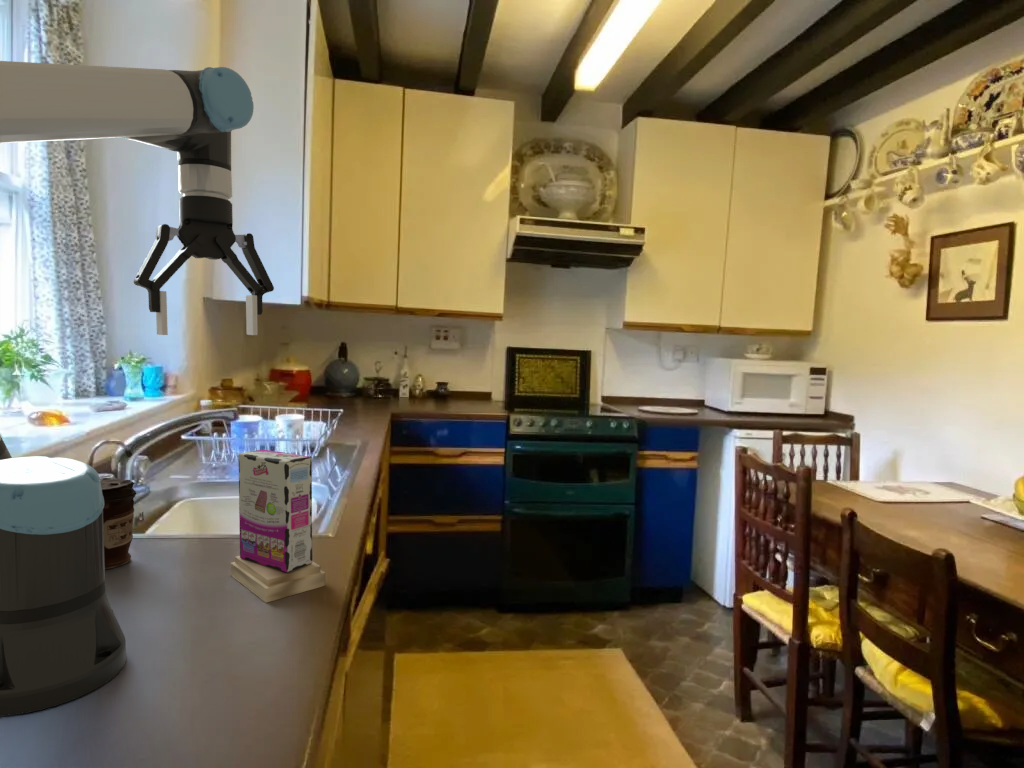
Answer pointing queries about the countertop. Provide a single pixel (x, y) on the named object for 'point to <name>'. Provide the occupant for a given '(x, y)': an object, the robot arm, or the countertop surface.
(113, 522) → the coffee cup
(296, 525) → the candy bar box
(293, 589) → the plinth
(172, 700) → the countertop surface
